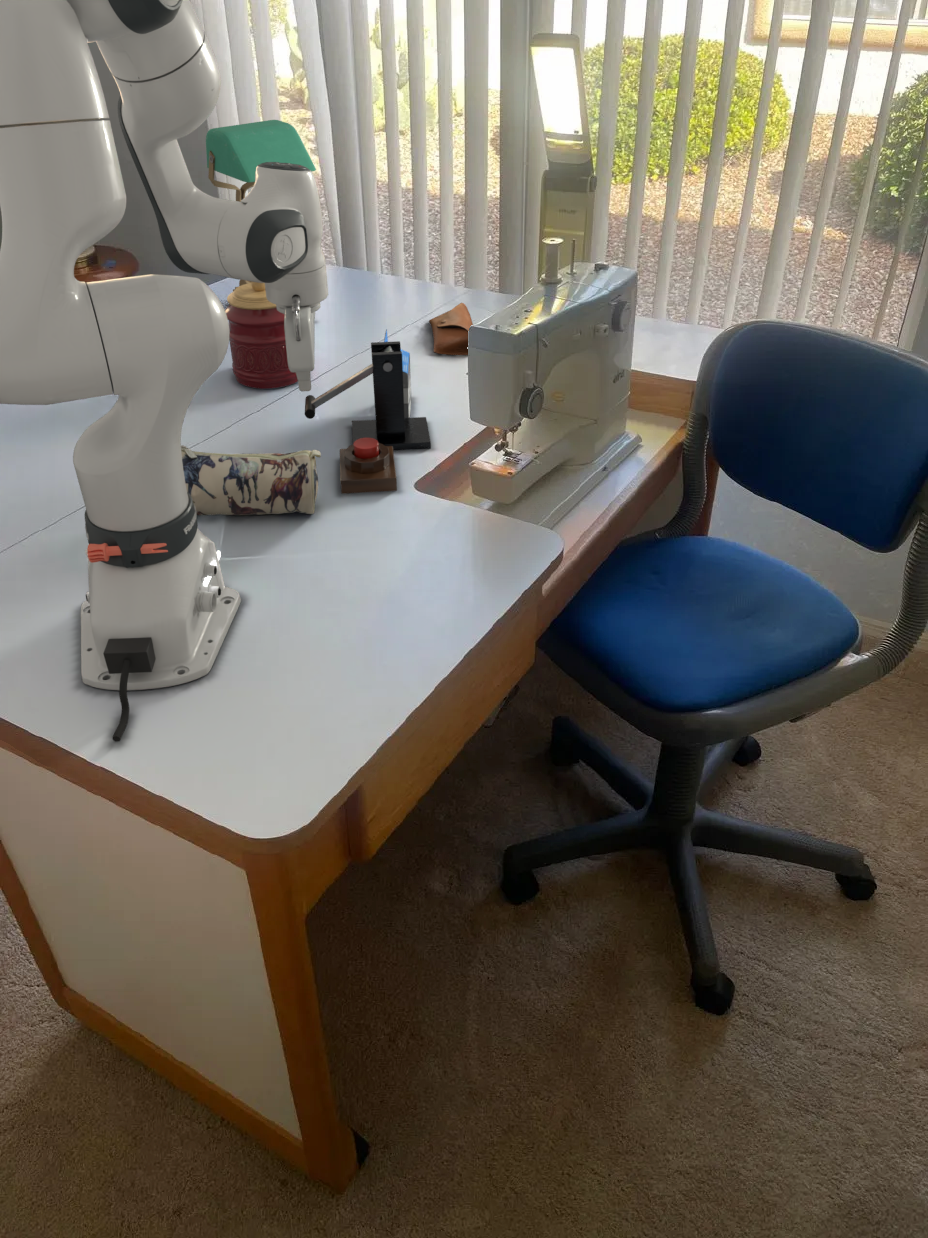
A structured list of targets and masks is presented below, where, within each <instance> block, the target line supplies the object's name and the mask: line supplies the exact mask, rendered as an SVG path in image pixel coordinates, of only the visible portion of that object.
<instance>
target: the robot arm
mask: <svg viewBox="0 0 928 1238" xmlns="http://www.w3.org/2000/svg"><path fill="white" fill-rule="evenodd" d="M94 42H95V43H96V45H97V47H98V49H99V51H100V54H101V56H102V58H103V60H104V62H105V64H106V66H107V68H108V69H109V72H110V73H111V76H112V78H113V79H114V82H115V83H116V85H117V88H118V91H119V93H120V95H119V97H118V101H117V117H118V122H119V125H120V129H121V132H122V135H123V138H124V141H125V143H126V146H127V149H128V151H129V153H130V156H131V158H132V160H133V163H134V165H135V168H136V171H137V173H138V175H139V178H140V180H141V183H142V185H143V187H144V189H145V192H146V194H147V197H148V199H149V202H150V204H151V206H152V209H153V211H154V214H155V218H156V221H157V226H158V232H159V237H160V241H161V244H162V247H163V250H164V251H165V253H166V255H167V256H168V259H169V261H170V262H171V263H172V264H173V265H174V266H175V267H176V268H177V269H178V270H180V271H182V272H185V273H189V274H198V275H199V274H201V275H214V276H218V277H223V278H229V279H234V280H239V281H240V279H241V280H246V281H251V282H257V283H265V290H266V298H267V300H268V301H269V302H271V303H273V304H276V308H277V310H278V311H279V312H281V313H283V314H285V317H284V330H285V341H286V351H287V361H288V367H289V370H290V371H291V372H296V375H297V379H298V382H297V385H298V390H299V392H310V391H312V377H311V372H313V371H315V361H316V359H315V357H316V356H315V355H316V354H315V351H316V350H315V349H316V348H315V345H316V344H315V342H316V341H315V338H316V337H315V336H316V335H315V334H316V329H315V328H316V327H315V324H316V323H315V322H316V321H315V320H316V312H317V311H319V310H320V309H321V303H322V302H323V301H325V300H326V299H328V297H329V286H328V274H327V263H326V257H325V254H324V251H323V247H322V239H323V234H324V225H323V224H324V223H323V215H322V205H321V200H320V193H319V189H318V185H317V181H316V178H315V175H314V173H313V172H312V171H311V170H309V169H308V168H307V167H305V166H302V165H298V164H291V163H279V162H265V163H261V164H260V165H258V166H257V167H256V173H255V184H254V186H253V187H251V189H250V191H249V192H248V193H247V195H245V198H244V199H242V200H241V202H239V201H236V200H232V199H227V198H219V197H215V196H212V195H210V194H208V193H206V192H204V191H202V190H201V189H200V188H198V187H197V186H196V185H195V184H194V183H193V180H192V177H191V174H190V172H189V169H188V165H187V163H186V161H185V158H184V156H183V153H182V150H181V147H180V145H179V142H178V140H179V139H181V138H184V137H186V136H188V135H189V134H191V133H193V132H194V131H196V130H197V129H198V128H199V127H201V125H203V124H204V123H205V121H207V120H208V119H209V117H210V116H211V114H212V113H213V111H214V109H215V108H216V106H217V103H218V100H219V97H220V93H221V86H222V78H221V73H220V67H219V63H218V60H217V58H216V55H215V52H214V49H213V48H212V47H213V46H212V45H211V43H210V41H209V38H208V36H207V34H206V32H205V29H204V27H203V25H202V21H201V20H200V17H199V16H198V14H197V11H196V10H195V8H194V5H193V4H192V2H191V0H0V213H1V227H2V228H1V231H2V232H1V244H0V405H17V406H18V405H19V406H50V405H55V404H62V403H68V402H73V401H80V400H86V399H92V398H99V397H104V396H111V395H113V396H118V398H117V400H116V401H115V402H114V405H113V406H112V408H110V409H109V411H108V412H106V413H105V414H104V415H102V416H101V417H100V418H98V419H97V420H95V421H94V422H93V423H91V424H90V425H89V426H87V428H86V429H85V430H84V431H83V432H82V433H81V435H80V436H79V438H78V439H77V441H76V443H75V446H74V448H73V452H72V453H73V455H72V463H73V467H74V470H75V474H76V479H77V481H78V486H79V489H80V492H81V496H82V500H83V504H84V508H85V511H84V522H85V523H84V529H85V530H84V531H85V536H86V538H87V542H88V545H87V548H86V549H85V550H84V553H85V556H86V560H87V575H88V591H86V593H85V600H84V601H83V602H82V603H81V605H80V672H81V673H80V675H81V680H82V683H83V684H85V685H86V686H89V687H92V688H96V689H100V690H107V691H118V693H119V701H120V706H121V715H120V719H119V723H118V725H117V727H116V728H115V731H114V733H113V735H112V740H113V741H114V742H115V743H118V742H120V741H121V739H122V736H123V734H124V732H125V730H126V728H127V725H128V722H129V718H130V702H129V698H128V691H141V690H143V691H144V690H151V689H152V690H153V689H162V688H168V687H169V688H170V687H173V686H179V685H182V684H187V683H190V682H192V681H195V680H198V679H200V678H203V677H205V676H207V674H209V673H210V672H211V670H212V667H213V665H214V663H215V662H216V659H217V657H218V655H219V652H220V650H221V648H222V645H223V644H224V641H225V638H226V637H227V635H228V632H229V630H230V627H231V625H232V623H233V621H234V618H235V616H236V614H237V612H238V610H239V608H240V605H241V603H242V598H241V595H240V592H239V591H237V590H236V589H234V588H232V587H228V586H226V585H225V580H224V576H223V573H222V568H221V565H220V558H221V556H222V555H221V551H220V550H217V548H216V544H215V542H214V541H213V540H211V539H210V538H209V537H207V536H206V535H205V534H204V533H203V532H202V531H200V529H199V528H198V527H199V524H198V518H197V516H198V515H196V514H197V513H196V508H195V506H194V503H193V500H192V497H191V495H190V494H189V493H188V492H187V488H186V483H185V477H184V471H183V463H182V452H181V445H182V431H183V430H182V429H183V426H184V425H183V424H184V421H185V417H186V415H187V411H188V409H189V406H190V405H191V403H192V401H193V399H194V397H195V396H196V394H197V393H198V391H199V389H200V388H201V387H202V386H203V384H205V382H206V381H207V380H208V379H209V378H210V377H211V376H212V375H213V374H214V373H215V372H216V371H218V369H219V368H220V366H221V365H222V363H223V361H224V360H225V357H226V355H227V352H228V349H229V346H230V342H229V320H228V319H227V315H226V312H225V308H224V305H223V303H222V302H221V300H220V298H219V297H218V295H217V294H216V293H215V291H214V290H213V289H212V288H211V287H210V286H209V285H208V284H206V282H204V281H203V280H202V279H200V278H198V277H194V276H193V277H192V276H183V275H172V274H171V275H170V274H157V273H155V274H154V273H152V274H143V275H135V276H127V277H118V278H111V279H103V280H95V281H87V282H85V281H80V280H78V279H77V278H76V277H75V266H76V262H77V260H78V258H79V257H80V255H81V254H82V253H84V252H85V251H86V250H88V249H89V248H91V247H92V246H93V245H95V244H96V243H97V242H99V241H101V240H102V239H103V238H105V237H106V236H107V235H109V234H110V233H111V232H112V231H113V230H114V229H115V228H116V227H118V225H119V224H120V223H121V221H122V219H123V218H124V215H125V212H126V208H127V194H126V193H127V192H126V189H125V184H124V179H123V175H122V174H123V173H122V170H121V165H120V160H119V156H118V152H117V147H116V144H115V138H114V133H113V127H112V124H111V120H108V119H110V115H109V111H108V106H107V102H106V98H105V93H104V91H103V87H102V83H101V79H100V76H99V73H98V70H97V67H96V63H95V61H94V57H93V54H92V52H91V48H90V46H89V44H90V43H94ZM88 43H89V44H88Z"/></svg>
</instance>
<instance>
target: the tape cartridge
mask: <svg viewBox="0 0 928 1238" xmlns="http://www.w3.org/2000/svg"><path fill="white" fill-rule="evenodd" d="M388 337H389V336H388V329H387V328H386V329H385V333H384V339H383V342H389V339H388ZM401 352H402V366H403V391H404V415H405V418H411V411H412V410H411V409H412V381H411V379H412V376H411V353H410V352H409V351H406V350H404V349H402V348H401Z"/></svg>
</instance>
